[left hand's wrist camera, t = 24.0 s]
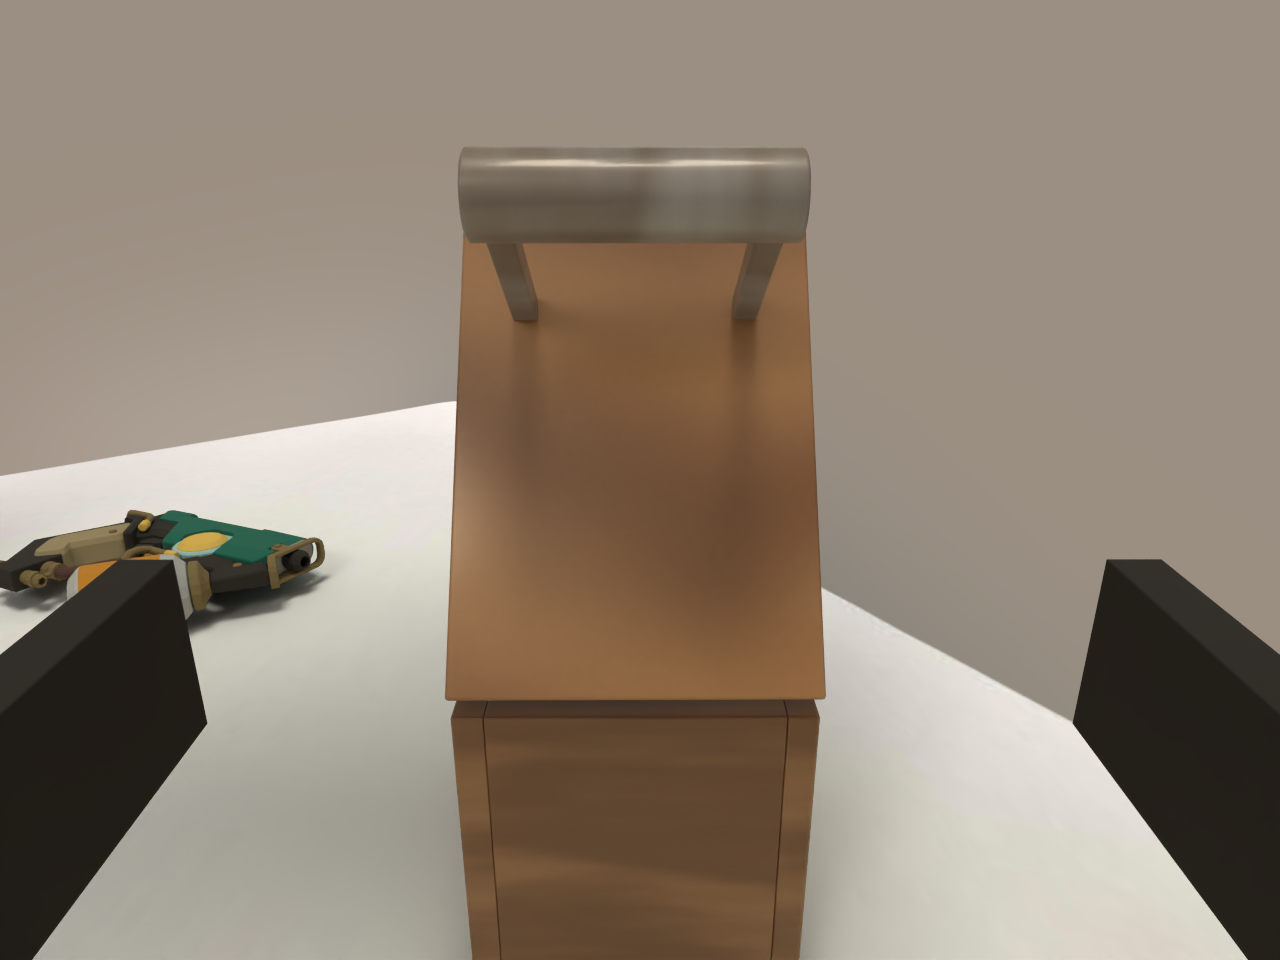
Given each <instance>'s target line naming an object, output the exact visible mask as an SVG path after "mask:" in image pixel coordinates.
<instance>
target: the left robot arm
mask: <svg viewBox="0 0 1280 960" xmlns="http://www.w3.org/2000/svg"><path fill="white" fill-rule="evenodd" d="M206 725H207V719H206V715H205V710H204V705H203V700H202V695H201V691H200V686H199V681H198V676H197V671H196V667H195V662H194V657H193V652H192V647H191V643H190V638H189V633H188V628H187V623H186V619H185V614H184V609H183V604H182V599H181V595H180V590H179V585H178V580H177V575H176V571H175V566H174V561H173V560H118V561H116V562H115V563H114V564H113V565H111V566H110V567H109V568H108V569H106V570H105V571H104V572H103V573H101V574H100V575H99V576H98V577H96V578H95V579H94V580H93V581H91V582H90V583H89V584H88V585H86V586H85V587H84V588H83V589H81V590H80V591H79V592H78V593H76V594H75V595H74V596H73V597H72V598H70V599H69V600H68V601H67V602H65V603H64V604H63V605H62V606H60V607H59V608H58V609H57V610H55V611H54V612H53V613H52V614H50V615H49V616H48V617H47V618H45V619H44V620H43V621H42V622H40V623H39V624H38V625H37V626H35V627H34V628H33V629H32V630H30V631H29V632H28V633H27V634H25V635H24V636H23V637H22V638H21V639H19V640H18V641H17V642H16V643H14V644H13V645H12V646H11V647H9V648H8V649H7V650H6V651H4V652H3V653H2V654H1V655H0V960H32V959H33V958H34V956H35V955H36V954H37V952H38V951H39V950H40V948H41V947H42V946H43V944H44V943H45V942H46V940H47V939H48V938H49V936H50V935H51V934H52V932H53V931H54V929H55V928H56V927H57V925H58V924H59V923H60V921H61V920H62V919H63V917H64V916H65V915H66V913H67V912H68V911H69V909H70V908H71V907H72V905H73V904H74V903H75V901H76V900H77V898H78V897H79V896H80V894H81V893H82V892H83V890H84V889H85V888H86V886H87V885H88V884H89V882H90V881H91V880H92V878H93V877H94V876H95V874H96V873H97V872H98V870H99V869H100V867H101V866H102V865H103V863H104V862H105V861H106V859H107V858H108V857H109V855H110V854H111V853H112V851H113V850H114V849H115V847H116V846H117V845H118V843H119V842H120V841H121V839H122V838H123V836H124V835H125V834H126V832H127V831H128V830H129V828H130V827H131V826H132V824H133V823H134V822H135V820H136V819H137V818H138V816H139V815H140V814H141V812H142V811H143V810H144V808H145V807H146V805H147V804H148V803H149V801H150V800H151V799H152V797H153V796H154V795H155V793H156V792H157V791H158V789H159V788H160V787H161V785H162V784H163V783H164V781H165V780H166V779H167V777H168V776H169V774H170V773H171V772H172V770H173V769H174V768H175V766H176V765H177V764H178V762H179V761H180V760H181V758H182V757H183V756H184V754H185V753H186V752H187V750H188V749H189V748H190V746H191V745H192V743H193V742H194V741H195V739H196V738H197V737H198V735H199V734H200V733H201V731H202V730H203V729H204V727H205V726H206ZM1073 725H1074V726H1075V727H1076V729H1077V730H1078V731H1079V733H1080V734H1081V735H1082V737H1083V738H1084V739H1085V741H1086V742H1087V743H1088V745H1089V746H1090V748H1091V749H1092V750H1093V752H1094V753H1095V754H1096V756H1097V757H1098V758H1099V760H1100V761H1101V762H1102V764H1103V765H1104V766H1105V768H1106V769H1107V770H1108V772H1109V773H1110V774H1111V776H1112V777H1113V779H1114V780H1115V781H1116V783H1117V784H1118V785H1119V787H1120V788H1121V789H1122V791H1123V792H1124V793H1125V795H1126V796H1127V797H1128V799H1129V800H1130V801H1131V803H1132V804H1133V805H1134V807H1135V808H1136V810H1137V811H1138V812H1139V814H1140V815H1141V816H1142V818H1143V819H1144V820H1145V822H1146V823H1147V824H1148V826H1149V827H1150V828H1151V830H1152V831H1153V832H1154V834H1155V835H1156V836H1157V838H1158V839H1159V841H1160V842H1161V843H1162V845H1163V846H1164V847H1165V849H1166V850H1167V851H1168V853H1169V854H1170V855H1171V857H1172V858H1173V859H1174V861H1175V862H1176V863H1177V865H1178V866H1179V867H1180V869H1181V870H1182V872H1183V873H1184V874H1185V876H1186V877H1187V878H1188V880H1189V881H1190V882H1191V884H1192V885H1193V886H1194V888H1195V889H1196V890H1197V892H1198V893H1199V894H1200V896H1201V897H1202V898H1203V900H1204V901H1205V903H1206V904H1207V905H1208V907H1209V908H1210V909H1211V911H1212V912H1213V913H1214V915H1215V916H1216V917H1217V919H1218V920H1219V921H1220V923H1221V924H1222V925H1223V927H1224V928H1225V929H1226V931H1227V932H1228V934H1229V935H1230V936H1231V938H1232V939H1233V940H1234V942H1235V943H1236V944H1237V946H1238V947H1239V948H1240V950H1241V951H1242V952H1243V954H1244V955H1245V956H1246V958H1247V959H1248V960H1280V655H1279V654H1278V653H1277V652H1276V651H1274V650H1273V649H1272V648H1271V647H1269V646H1268V645H1267V644H1266V643H1264V642H1263V641H1262V640H1261V639H1259V638H1258V637H1257V636H1256V635H1255V634H1253V633H1252V632H1251V631H1250V630H1248V629H1247V628H1246V627H1245V626H1243V625H1242V624H1241V623H1240V622H1238V621H1237V620H1236V619H1235V618H1233V617H1232V616H1231V615H1230V614H1228V613H1227V612H1226V611H1225V610H1223V609H1222V608H1221V607H1220V606H1218V605H1217V604H1216V603H1215V602H1213V601H1212V600H1211V599H1210V598H1208V597H1207V596H1206V595H1205V594H1203V593H1202V592H1201V591H1200V590H1199V589H1197V588H1196V587H1195V586H1194V585H1192V584H1191V583H1190V582H1188V581H1187V580H1186V579H1185V578H1184V577H1182V576H1181V575H1180V574H1179V573H1177V572H1176V571H1175V570H1174V569H1172V568H1171V567H1170V566H1169V565H1167V564H1166V563H1165V562H1164V561H1162V560H1107V561H1106V566H1105V570H1104V575H1103V580H1102V585H1101V590H1100V595H1099V599H1098V604H1097V609H1096V614H1095V619H1094V623H1093V628H1092V633H1091V638H1090V643H1089V647H1088V652H1087V657H1086V662H1085V667H1084V671H1083V676H1082V681H1081V686H1080V691H1079V695H1078V700H1077V705H1076V710H1075V715H1074V719H1073Z"/></svg>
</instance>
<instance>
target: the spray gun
mask: <svg viewBox="0 0 1280 960" xmlns="http://www.w3.org/2000/svg"><path fill="white" fill-rule="evenodd" d="M314 542H315V544H316V548H317V559H316V561H315V562H313V563H312V564H310V560H311V557H312V555H313V544H312V543H314ZM142 554H144V557H140V556H141V555H142ZM324 559H325V551H324V545H323V542H322V541H321V540H320V539H318V538H309V539H306V538H302V537H298V536H293V535H289V534H284V533H280V532H275V531H271V530H266V529H264V530H257V529H252V528H247V527H242V526H237V525H232V524H227V523H222V522H217V521H212V520H207V519H202V518H198V516H196V515H195V514H190V513H185V512H180V511H175V510H171V511H168V512H166V513H165V514H162V515H158V516H153V515H152V514H151V513H146V512H141V511H136V510H130V511H128V513H127V517H126V518H125V522H124V523H119V524H114V525H109V526H104V527H99V528H94V529H88V530H83V531H78V532H73V533H68V534H63V535H58V536H52V537H47V538H42V539H37V540H34V541H33V542H31V543H30V544H29V545H27V546H26V547H25V548H23V549H22V550H21V551H19V552H18V553H17V554H15V555H14V556H13V557H11V558H10V559H9V560H7V561H0V588H4V589H7V590H10V591H14V592H18V591H21V590H24V589H26V588H29V587H33V588H43V587H44V586H46V584H47V583H48V581H49V580H51V579H53V580H57V581H62V580H65V579H68V582H67V601H68V600H69V599H70V598H72V597H73V596H74V595H75V594H76V593H78V592H79V591H80V590H81V589H83V588H84V587H85V586H86V585H88V584H89V583H90V582H91V581H93V580H94V579H95V578H96V577H98V576H99V575H100V574H101V573H103V572H104V571H105V570H106V569H108V568H109V567H110V566H111V565H113V564H114V563H115V562H116V561H118V560H173V561H174V566H175V571H176V575H177V580H178V585H179V590H180V595H181V599H182V604H183V609H184V614H185V619H186V620H187V619H188V617H189V616H190V615H191V614H192V612H193V610H194V609H195V611H199V610H204V609H205V608H206V605H207V602H208V600H209V598H210V597H211V595H212V592H213V593H218V592H228V591H235V590H243V589H250V588H258V587H265V586H269V585H271V589H276V588H280V584H282V583H284V582H286V581H288V580H291V579H293V578H295V577H297V576H299V575H301V574H304V573H306V572H308V571H310V570H312V569H315V568H317V567H319V566H320V565H321V564H322V563H323V561H324ZM292 570H293V571H292ZM279 576H280V577H281V578H279Z"/></svg>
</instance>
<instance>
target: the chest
mask: <svg viewBox="0 0 1280 960" xmlns="http://www.w3.org/2000/svg"><path fill="white" fill-rule="evenodd" d="M819 723H820V717H819V713H818V710H817V707H816V704H815V701H814V699H791V700H484V701H456V704H455V707H454V710H453V713H452V716H451V727H452V738H453V749H454V760H455V771H456V782H457V793H458V805H459V816H460V827H461V838H462V849H463V860H464V871H465V882H466V893H467V904H468V915H469V926H470V937H471V948H472V959H473V960H799V956H800V944H801V932H802V921H803V909H804V897H805V886H806V874H807V862H808V851H809V839H810V828H811V816H812V804H813V793H814V781H815V769H816V758H817V746H818V734H819Z"/></svg>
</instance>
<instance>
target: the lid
mask: <svg viewBox="0 0 1280 960" xmlns="http://www.w3.org/2000/svg"><path fill="white" fill-rule="evenodd" d="M810 194H811V170H810V160H809V155H808V152H807V149H806V148H804V147H464V148H463V149H462V151H461V154H460V158H459V165H458V199H459V210H460V217H461V223H462V228H463V257H462V283H461V308H460V334H459V358H458V383H457V408H456V434H455V459H454V484H453V510H452V535H451V560H450V585H449V611H448V636H447V661H446V686H445V699H446V700H448V701H484V700H791V699H825V697H826V690H825V667H824V644H823V621H822V598H821V575H820V551H819V528H818V506H817V483H816V460H815V436H814V413H813V390H812V367H811V344H810V321H809V298H808V275H807V252H806V227H807V222H808V216H809V208H810Z"/></svg>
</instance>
